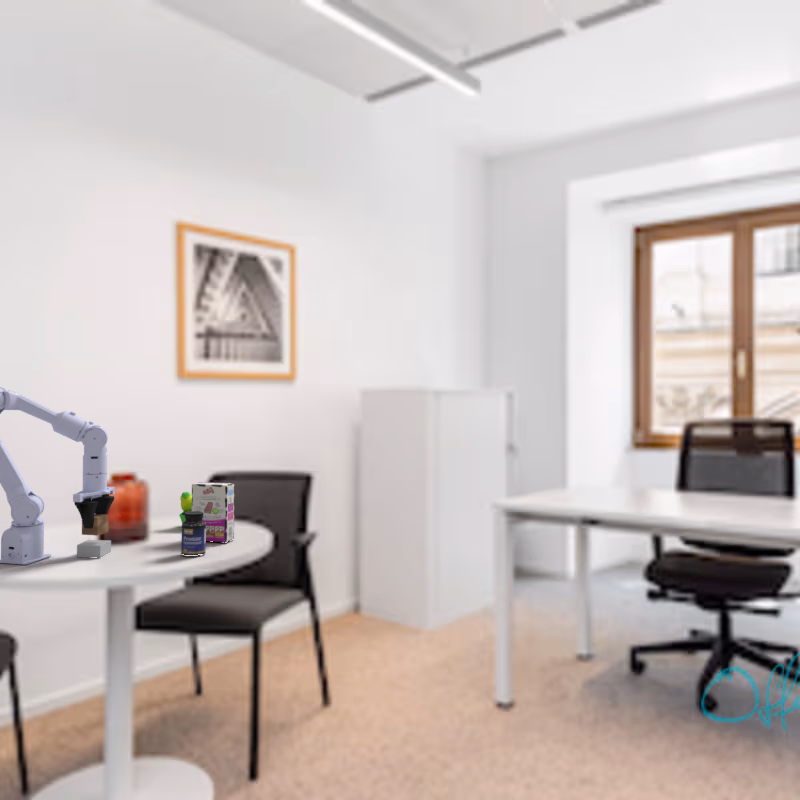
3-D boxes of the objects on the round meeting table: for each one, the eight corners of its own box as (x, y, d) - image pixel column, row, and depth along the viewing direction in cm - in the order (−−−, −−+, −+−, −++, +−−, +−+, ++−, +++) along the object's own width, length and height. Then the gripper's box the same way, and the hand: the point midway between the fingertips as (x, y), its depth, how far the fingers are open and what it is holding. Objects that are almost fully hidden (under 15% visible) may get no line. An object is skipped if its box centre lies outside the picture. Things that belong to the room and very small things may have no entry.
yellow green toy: (203, 531, 213) (203, 494, 213) (174, 531, 213) (174, 494, 213) (213, 524, 225) (214, 489, 224) (185, 524, 225) (186, 488, 225)
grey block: (100, 559, 178) (100, 545, 178) (76, 558, 178) (77, 545, 178) (110, 553, 184) (110, 540, 184) (88, 553, 184) (88, 539, 184)
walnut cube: (97, 535, 178) (97, 517, 178) (81, 534, 179) (81, 516, 179) (108, 532, 183) (108, 514, 183) (92, 531, 184) (92, 513, 184)
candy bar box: (234, 540, 202) (235, 483, 201) (226, 543, 197) (227, 485, 197) (199, 537, 204) (200, 481, 204) (190, 541, 199) (191, 483, 199)
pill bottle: (180, 558, 180) (181, 514, 179) (181, 552, 185) (182, 510, 185) (205, 556, 181) (206, 514, 181) (205, 551, 187) (206, 510, 187)
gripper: (91, 477, 173) (90, 532, 173) (125, 470, 187) (124, 521, 187) (65, 476, 174) (65, 530, 175) (101, 469, 189) (101, 520, 189)
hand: (94, 526), depth 181 cm, fingers closed on walnut cube, 4 cm apart
